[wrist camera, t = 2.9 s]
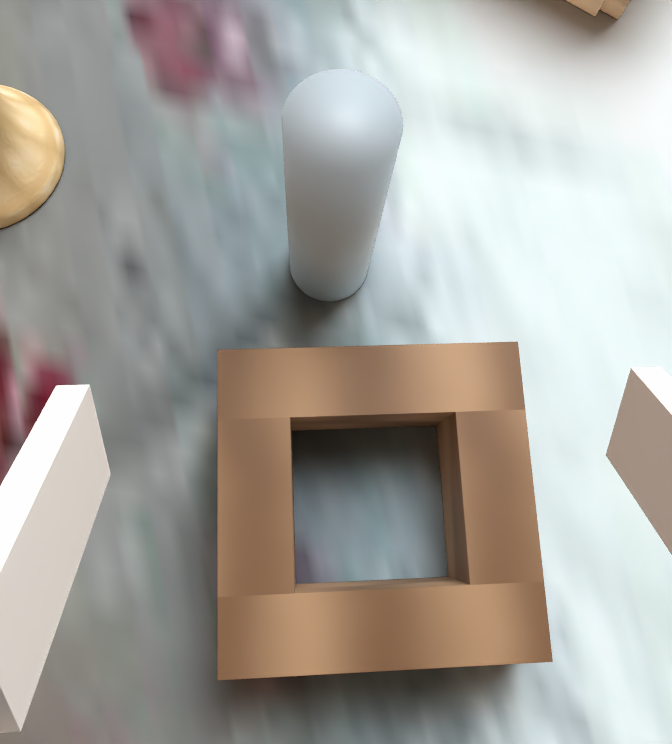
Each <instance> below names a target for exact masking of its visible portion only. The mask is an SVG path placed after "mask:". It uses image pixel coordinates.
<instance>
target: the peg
mask: <svg viewBox="0 0 672 744" xmlns="http://www.w3.org/2000/svg"><path fill="white" fill-rule="evenodd" d="M402 133H403V117H402V112H401V109H400V106H399V104H398V102H397V100H396V98H395V97H394V95H393V94H392V93H391V92H390V90H389V89H388V88H387V87H386V86H385V85H383V84H382V83H381V82H380V81H378V80H377V79H375V78H373V77H371V76H369V75H367V74H365V73H362V72H359V71H355V70H349V69H332V70H326V71H322V72H319V73H316V74H314V75H312V76H310V77H308V78H306V79H305V80H303V81H302V82H301V83H299V84H298V85H297V86H296V87H295V88H294V89H293V91H292V92H291V93H290V95H289V96H288V98H287V100H286V102H285V105H284V108H283V112H282V139H283V156H284V174H285V191H286V209H287V226H288V244H289V261H290V271H291V275H292V278H293V280H294V282H295V283H296V285H297V286H298V287H299V289H301V290H302V291H303V292H304V293H305V294H307V295H308V296H310V297H312V298H314V299H317V300H321V301H338V300H342V299H345V298H347V297H349V296H351V295H352V294H354V293H355V292H356V291H357V290H358V289H359V288H360V287H361V286H362V284H363V282H364V281H365V278H366V276H367V272H368V268H369V264H370V260H371V256H372V252H373V248H374V244H375V240H376V236H377V232H378V228H379V224H380V220H381V216H382V212H383V208H384V204H385V200H386V196H387V192H388V188H389V184H390V180H391V176H392V172H393V169H394V165H395V161H396V157H397V153H398V149H399V145H400V141H401V137H402Z"/></svg>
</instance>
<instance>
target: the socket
mask: <svg viewBox="0 0 672 744" xmlns="http://www.w3.org/2000/svg"><path fill="white" fill-rule="evenodd" d="M412 426H437V436H438V449H439V462H440V475H441V488H442V501H443V514H444V527H445V540H446V553H447V566H448V577H434V578H413V579H392V580H371V581H349V582H328V583H307V584H296V572H295V534H294V495H293V456H292V431H295V430H324V429H353V428H383V427H412ZM538 662H553V661H552V652H551V643H550V633H549V624H548V615H547V606H546V597H545V588H544V578H543V569H542V560H541V551H540V542H539V532H538V523H537V514H536V505H535V496H534V486H533V477H532V468H531V459H530V450H529V440H528V431H527V422H526V413H525V404H524V394H523V385H522V376H521V367H520V358H519V348H518V342H491V343H454V344H417V345H380V346H343V347H306V348H269V349H232V350H218V680H232V679H250V678H268V677H286V676H304V675H322V674H340V673H358V672H376V671H394V670H412V669H430V668H448V667H466V666H484V665H502V664H520V663H538Z"/></svg>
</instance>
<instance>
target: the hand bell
mask: <svg viewBox="0 0 672 744" xmlns="http://www.w3.org/2000/svg"><path fill="white" fill-rule="evenodd" d="M64 158H65V145H64V139H63V135H62V132H61V130H60V127H59V125H58V123H57V121H56V120H55V118H54V117H53V115H52V114H51V113H50V112H49V110H48V109H46V108H45V107H44V106H43V105H42V104H41V103H40V102H39V101H38V100H36V99H34V98H33V97H31V96H29V95H28V94H26V93H24V92H21V91H19V90H16V89H14V88H11V87H7V86H3V85H0V228H3V227H7V226H9V225H12V224H14V223H16V222H18V221H20V220H22V219H24V218H25V217H27V216H28V215H30V214H31V213H33V212H34V211H35V210H36V209H38V208H39V207H40V206H41V205H42V204H43V203H44V202H45V201H46V200H47V199H48V197H49V196H50V195H51V194H52V192H53V190H54V189H55V187H56V185H57V183H58V181H59V179H60V177H61V174H62V171H63V166H64Z"/></svg>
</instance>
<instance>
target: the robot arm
mask: <svg viewBox="0 0 672 744" xmlns="http://www.w3.org/2000/svg"><path fill="white" fill-rule="evenodd" d="M606 456H607V457H608V459H609V461H610V462H611V464H612V465H613V467H614V468H615V470H616V471H617V473H618V474H619V476H620V477H621V479H622V480H623V482H624V483H625V485H626V486H627V488H628V489H629V491H630V492H631V494H632V495H633V497H634V498H635V500H636V501H637V503H638V504H639V506H640V507H641V509H642V510H643V512H644V513H645V515H646V516H647V518H648V519H649V521H650V523H651V524H652V526H653V527H654V529H655V530H656V532H657V533H658V535H659V536H660V538H661V539H662V541H663V542H664V544H665V545H666V547H667V548H668V550H669V551H670V553H671V554H672V378H671V377H670V376H669V375H668V374H667V373H666V372H665V371H664V370H663V368H662V367H644V368H631V370H630V373H629V377H628V380H627V384H626V387H625V391H624V394H623V398H622V401H621V404H620V408H619V411H618V415H617V418H616V422H615V425H614V429H613V432H612V436H611V439H610V443H609V446H608V449H607V453H606ZM110 475H111V474H110V470H109V465H108V461H107V457H106V452H105V448H104V444H103V440H102V435H101V431H100V427H99V423H98V418H97V414H96V410H95V406H94V401H93V397H92V393H91V389H90V385H63V386H56V387H55V389H54V391H53V393H52V394H51V396H50V398H49V400H48V402H47V403H46V405H45V407H44V409H43V411H42V412H41V414H40V416H39V418H38V420H37V421H36V423H35V425H34V427H33V429H32V430H31V432H30V434H29V436H28V438H27V439H26V441H25V443H24V445H23V447H22V448H21V450H20V452H19V454H18V456H17V457H16V459H15V461H14V463H13V465H12V466H11V468H10V470H9V472H8V474H7V475H6V477H5V479H4V481H3V483H2V484H1V486H0V733H4V732H21V729H22V726H23V724H24V721H25V718H26V715H27V712H28V709H29V706H30V704H31V701H32V698H33V695H34V692H35V689H36V686H37V684H38V681H39V678H40V675H41V672H42V669H43V666H44V664H45V661H46V658H47V655H48V652H49V649H50V646H51V643H52V641H53V638H54V635H55V632H56V629H57V626H58V623H59V621H60V618H61V615H62V612H63V609H64V606H65V603H66V601H67V598H68V595H69V592H70V589H71V586H72V583H73V581H74V578H75V575H76V572H77V569H78V566H79V563H80V561H81V558H82V555H83V552H84V549H85V546H86V543H87V541H88V538H89V535H90V532H91V529H92V526H93V523H94V520H95V518H96V515H97V512H98V509H99V506H100V503H101V500H102V498H103V495H104V492H105V489H106V486H107V483H108V480H109V478H110Z"/></svg>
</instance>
